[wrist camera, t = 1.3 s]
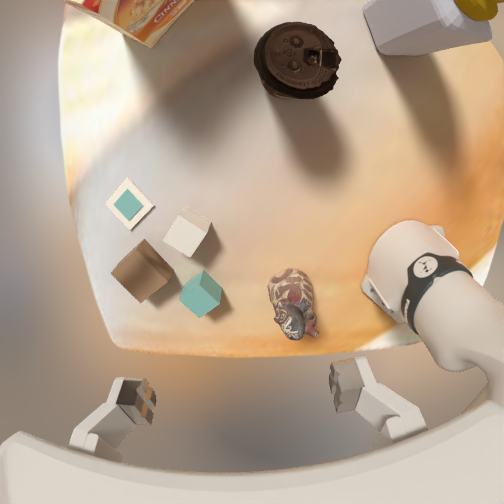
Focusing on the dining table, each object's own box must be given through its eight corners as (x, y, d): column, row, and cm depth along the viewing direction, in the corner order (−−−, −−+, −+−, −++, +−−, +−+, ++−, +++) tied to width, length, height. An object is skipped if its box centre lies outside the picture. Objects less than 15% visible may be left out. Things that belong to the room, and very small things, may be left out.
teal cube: (222, 287, 46) (219, 304, 41) (203, 301, 47) (199, 318, 43) (203, 269, 44) (199, 284, 40) (184, 284, 45) (179, 300, 41)
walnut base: (174, 269, 44) (168, 282, 40) (147, 289, 46) (140, 303, 42) (144, 238, 42) (136, 249, 38) (119, 261, 43) (110, 273, 40)
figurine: (274, 263, 43) (282, 311, 33) (316, 272, 44) (334, 319, 33) (263, 299, 46) (266, 350, 36) (302, 306, 47) (314, 356, 36)
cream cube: (211, 221, 40) (206, 233, 36) (195, 244, 42) (190, 257, 38) (185, 205, 39) (178, 215, 35) (171, 228, 41) (162, 240, 37)
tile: (154, 205, 39) (153, 206, 38) (130, 229, 41) (129, 231, 40) (128, 176, 37) (126, 177, 36) (105, 203, 38) (104, 204, 38)
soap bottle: (358, 6, 25) (454, -67, 2) (406, 9, 24) (510, -35, 1) (376, 56, 29) (501, 16, 6) (422, 56, 28) (545, 40, 5)
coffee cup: (328, 81, 31) (364, 64, 19) (287, 119, 34) (306, 116, 22) (282, 39, 28) (297, 2, 17) (239, 77, 31) (234, 54, 19)
